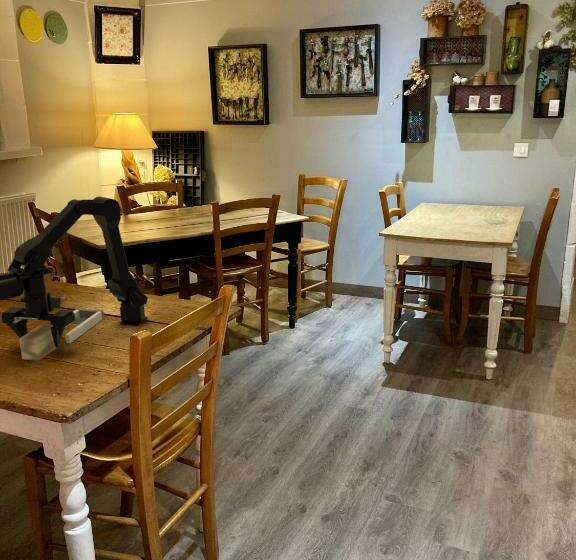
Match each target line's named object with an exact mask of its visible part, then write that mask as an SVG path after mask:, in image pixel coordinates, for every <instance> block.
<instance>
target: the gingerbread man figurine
mask: <svg viewBox="0 0 576 560" xmlns="http://www.w3.org/2000/svg"><path fill="white" fill-rule="evenodd" d="M46 267H47V268H48V269H50V268H51V270H52V273H49V274H45V275H44V277H45V278H47V280H45V284H46V290H48V288H51V290H50V291H49V293H50V294H51V293H53V294H54V295H51V297H56V298H61V302H66V301H68V295H67V294H63V292H61V290H60V289H59V288H58V287H57V284H58V286H63V285H64V279H63V278H62V277H61V276H59V275H55V274H56V269H55V268H54V267H53V266H50V265H48V266H46ZM54 277H57V278H59V279H60V280H58V279H55V280H54V284H53V283H52V281H53V279H54ZM48 280H49V285H48ZM52 288H55V289H56V290H57V291H58V292H57V293H56V292H55V291H54V289H52Z"/></svg>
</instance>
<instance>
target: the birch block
mask: <svg viewBox="0 0 576 560" xmlns="http://www.w3.org/2000/svg"><path fill="white" fill-rule="evenodd" d="M51 327H52V325H51V324H41V325H38V327H35V328H34V329H32V330H30V331H29V332H28V333H27V334H26V335H24V336H23V337H21V338H19V337H18V339H19V346H20V352H21V359H22V360H29V361H30V360H31V361H41V360H42V359H43V358H45V357H46V356H48V355H49V354H50V353H52V352H54V351H55V350H56V349H57V348H56V347H55V344H54V341H53V337H52V333H51V329H50V328H51ZM60 346H61V344H60V345H59V347H60Z"/></svg>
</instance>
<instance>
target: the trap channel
mask: <svg viewBox="0 0 576 560" xmlns="http://www.w3.org/2000/svg"><path fill="white" fill-rule="evenodd" d="M73 312H74V314H75V321H73V322H72V323H70V324H69V325H67V326H66V327H65V328H67V327H68V326H70V325H72V324H75V325H77V326H75V327H74V328H73V329H71V330H70V331H68V332H67V333H65V343H66V344H71V343H73V342H74V341H75V340H77V339H78V338H79V337H81V336H82V335H83V334H85V333H86V332H87V331H89V330H90V329H92V327H94V326H95V325H96V324H98V323H100V322H101V321H102V320H103V319H104V318H105V314H104V312H105V311H104V310H100V309H86V308H77V309H75V310H74V311H73Z"/></svg>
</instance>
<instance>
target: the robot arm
mask: <svg viewBox="0 0 576 560" xmlns="http://www.w3.org/2000/svg"><path fill="white" fill-rule="evenodd" d="M84 215H85V216H86V215H88V216H92V217H93V219H94V220H95V222H96V223H97V225H98V226H99V228H100V229H101V232H102V235H103V240H104V243H105V248H106V252H107V255H108V260H109V264H110V267H111V272H112V275H111V279H108V280H107V284H108V287H109V293H110V294H112V296H113V297H115V298H116V300H117V302H120V307H119V313H120V314H119V315H120V322H119V324H120V325H129V326H141V325H142V324H143V323H144V322H145V321H146V320H147V319H148V316H146V313H145V305H147V303H148V299H149V298H148V296H147V295H146V294H144V293H143V292H142V291H140V287H139V285H138V282H137V279H135V277H134V276H133V274H132V273H131V271H130V270H129V269H130V268H129V264H128V260H127V256H126V253H125V247H124V244H123V239H122V236H121V231H120V227H119V226H120V224H121V223H120V222H121V219H122V213H121V205H120V202H119V201H117V200H116V199H114V198H110V197H104V196H96V197H94V198H93V199H74V198H73V199H71V200H69V201H68V202H67V204H66V205H65V206H64V207H63V209H61V211H60V212H58V214H57V215H56V216H55V217H54V218H53V219H52V220H51V221H50V222H49V223H48V224H47V225H46V226H45V227H44V228H43V229H42V231H40V232H39V233H38V234H37V235H35V236H33V237H31V238H29V239H27V240H26V241H24V242H23V243H22V244H20V245H19V246H17V247H16V249H15V250H14V252H13V253H14V256H13V259H12V261H11V262H10V264H9V266H8V269H7V272H3V273H0V302H1V301H7V300H10V299H11V300H12V299H14V298H18V297H20V296H21V295H22V296H23V297H21V298H20V303H24V307H20V306H12V307H10V308H8V309H6V310H5V311H2V313H1V315H0V319H1V320H0V321H1V323H2V324H5V325H6V327H9V328H10V329H11V330H12V331H13V332H14V334H16V336H17V337H18V339H19V338H21V337H23V336H24V335H26V334H27V333H29V332H28V326H27V325H28V321H29V320H31V321H43V322H44V321H46V322H49V323H50V324H49V325H50V326H52V327H51V328H50V329H51V333H52V337H53V341H54V344H55V347H56V349H58V348H60V346H61V341H62V338H63V335H64V334H63V333H64V331H65V327H66V326H67V325H69V324H70V323H71V324H73V323H72V322H73V321H75V314H74V312H73V311H72V310H67V309H66V310H65V309H61V305H62V303H61V302H62V301H61V298H56V297H51V296H52V295H51V293H50V292H47V289H46V288H47V286H46V282H45V281H46V277H44V276H46V275H47V274H52V272H53V271H52V270H53V269H50V268H49V267H48V266H46V265H45V264H46V262H47V261H48V259H49V258H50V256H51V254H52V249H53V248H54V246H56V244H57V243H58V242H59V240H61V239H62V238H63V236H64V235H66V234H67V232H68V231H69V230H70V229H71V228H72V227H74V225H75V224H76V223H77V222H78V221H79V219H81V217H82V216H84ZM23 267H24V268H23ZM47 267H48V268H47ZM45 274H46V275H45ZM55 309H59V310H58V311H57V312H55V313H50V312H53V311H55ZM71 324H70V325H71ZM70 325H69V326H70ZM67 327H68V326H67ZM67 327H66V328H67ZM59 345H60V346H59Z"/></svg>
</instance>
